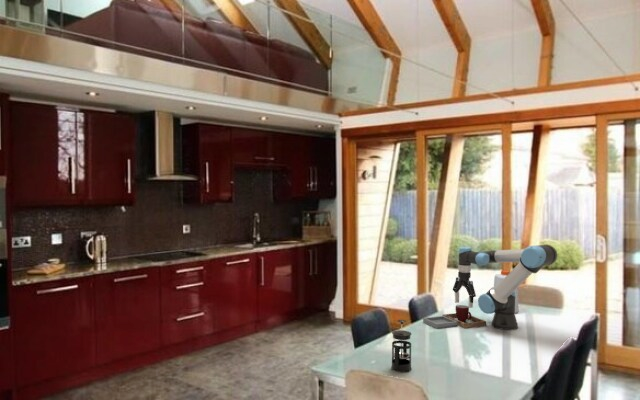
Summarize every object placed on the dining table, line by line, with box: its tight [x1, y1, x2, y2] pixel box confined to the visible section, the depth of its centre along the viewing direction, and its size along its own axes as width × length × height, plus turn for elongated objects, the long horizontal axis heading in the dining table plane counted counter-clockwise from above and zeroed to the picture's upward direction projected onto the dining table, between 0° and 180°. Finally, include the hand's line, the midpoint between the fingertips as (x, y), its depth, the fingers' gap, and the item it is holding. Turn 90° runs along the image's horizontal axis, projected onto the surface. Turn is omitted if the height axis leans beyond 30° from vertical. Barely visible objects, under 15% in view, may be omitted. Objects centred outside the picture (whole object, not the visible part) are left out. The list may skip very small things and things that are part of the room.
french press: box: [390, 318, 413, 373], centre depth 235 cm, size 12×9×23 cm
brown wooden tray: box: [441, 312, 487, 330], centre depth 317 cm, size 23×16×3 cm
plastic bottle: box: [493, 270, 520, 315], centre depth 346 cm, size 15×15×28 cm
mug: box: [455, 304, 473, 323], centre depth 316 cm, size 11×8×10 cm
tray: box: [422, 315, 459, 330], centre depth 311 cm, size 15×15×3 cm
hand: (463, 305), depth 317 cm, fingers open, 13 cm apart
